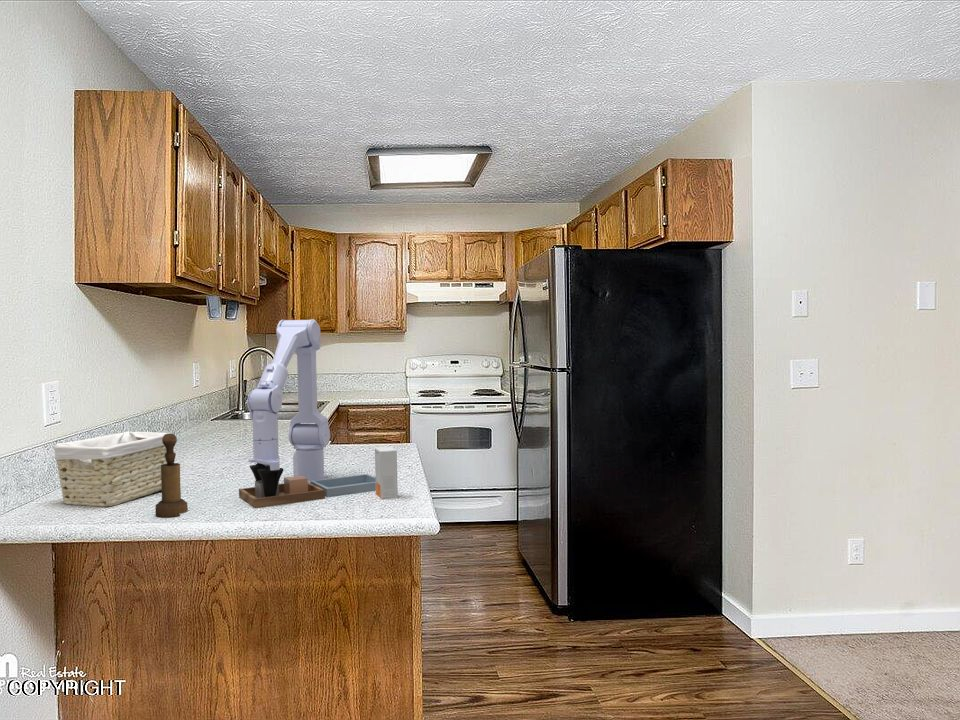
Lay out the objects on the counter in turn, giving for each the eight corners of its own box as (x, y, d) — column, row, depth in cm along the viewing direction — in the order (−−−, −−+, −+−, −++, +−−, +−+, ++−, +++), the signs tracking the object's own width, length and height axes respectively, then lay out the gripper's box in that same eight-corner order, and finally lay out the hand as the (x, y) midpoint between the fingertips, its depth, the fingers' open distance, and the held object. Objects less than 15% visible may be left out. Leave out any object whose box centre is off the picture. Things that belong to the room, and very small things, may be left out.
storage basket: (106, 510, 167) (104, 446, 167) (52, 505, 172) (49, 443, 171) (178, 488, 190) (177, 432, 189) (128, 485, 195) (127, 430, 194)
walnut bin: (239, 499, 175) (238, 489, 175) (305, 490, 184) (305, 480, 184) (254, 510, 164) (254, 499, 164) (325, 500, 173) (324, 490, 173)
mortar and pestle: (192, 510, 165) (189, 431, 165) (181, 517, 159) (178, 435, 158) (162, 510, 165) (160, 432, 164) (150, 518, 158) (148, 436, 158)
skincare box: (375, 496, 177) (374, 447, 176) (392, 494, 178) (391, 446, 178) (380, 501, 171) (379, 451, 171) (398, 499, 173) (397, 449, 172)
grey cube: (255, 499, 173) (254, 481, 173) (273, 496, 175) (273, 478, 175) (260, 502, 169) (260, 484, 169) (279, 500, 172) (278, 481, 171)
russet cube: (284, 495, 177) (283, 477, 177) (301, 493, 179) (301, 475, 179) (290, 498, 173) (289, 480, 173) (307, 496, 175) (307, 478, 175)
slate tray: (310, 490, 184) (310, 480, 184) (367, 483, 192) (367, 473, 192) (327, 499, 174) (326, 488, 174) (386, 490, 183) (386, 481, 183)
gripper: (240, 437, 176) (241, 492, 176) (257, 444, 163) (258, 504, 164) (269, 434, 179) (270, 489, 180) (288, 441, 167) (289, 499, 168)
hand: (267, 496), depth 172 cm, fingers open, 5 cm apart
